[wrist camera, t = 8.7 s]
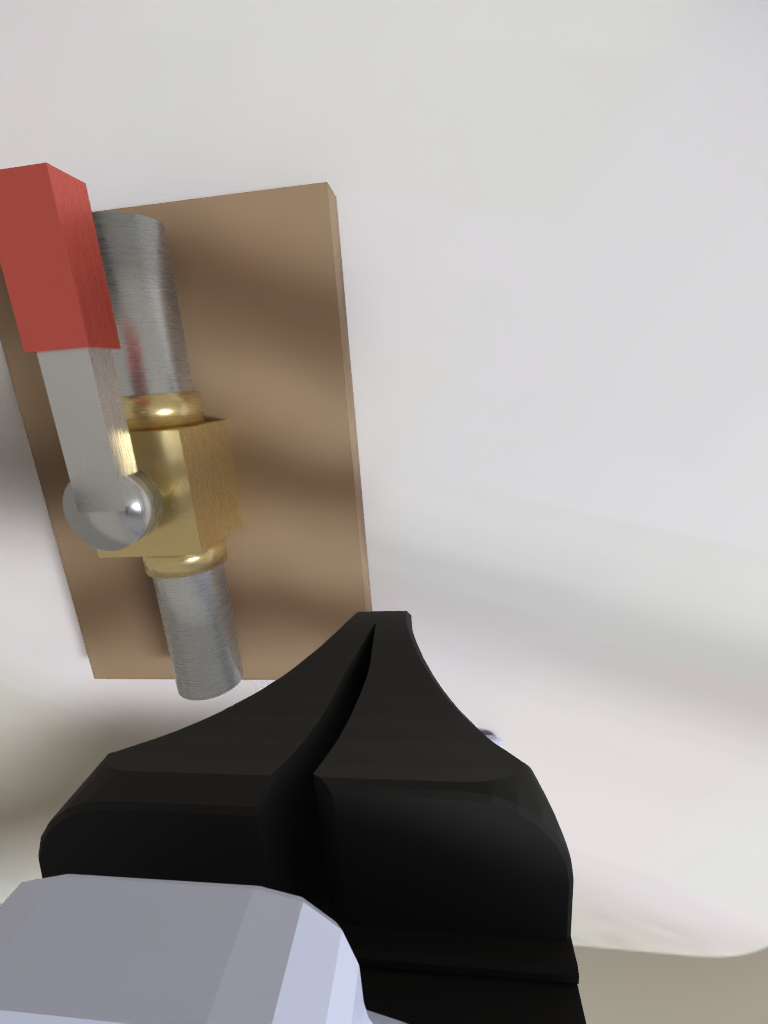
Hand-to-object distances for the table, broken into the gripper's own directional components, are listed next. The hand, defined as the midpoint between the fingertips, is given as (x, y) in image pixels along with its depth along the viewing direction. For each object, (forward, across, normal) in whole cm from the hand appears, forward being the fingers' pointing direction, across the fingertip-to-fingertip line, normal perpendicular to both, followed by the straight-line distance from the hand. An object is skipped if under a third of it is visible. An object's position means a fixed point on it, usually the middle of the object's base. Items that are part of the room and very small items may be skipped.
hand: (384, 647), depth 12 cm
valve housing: (+9, +9, -3) cm, 13 cm away
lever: (+4, +9, -7) cm, 12 cm away
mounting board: (+10, +9, -3) cm, 14 cm away
